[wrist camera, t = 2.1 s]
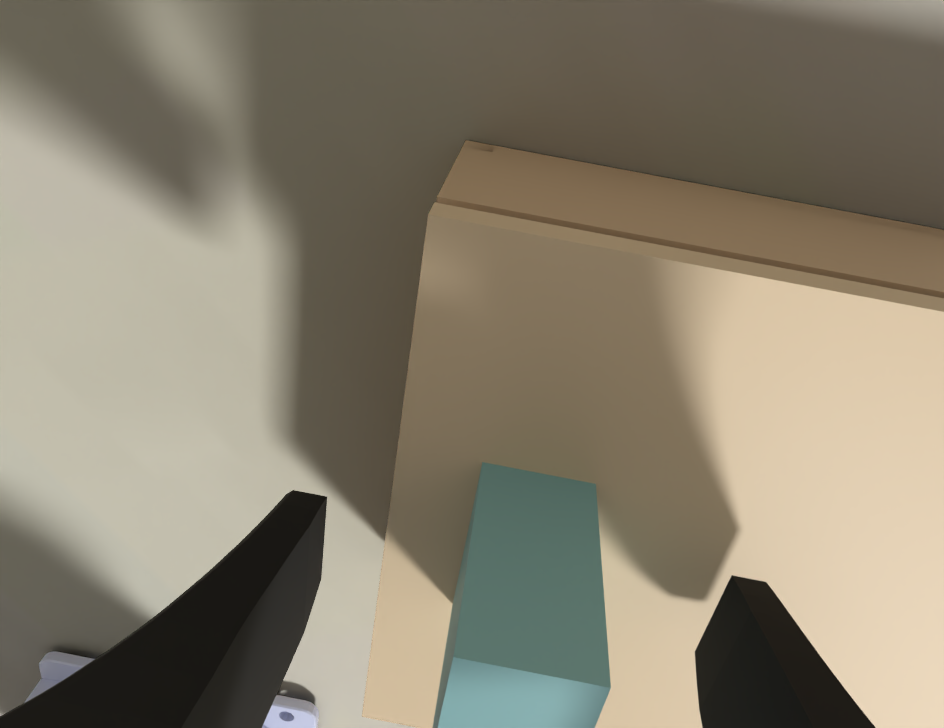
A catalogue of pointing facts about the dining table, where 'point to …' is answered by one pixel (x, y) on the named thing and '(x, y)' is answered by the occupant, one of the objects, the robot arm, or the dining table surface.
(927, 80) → the dining table surface
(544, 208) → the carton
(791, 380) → the tan flat square block
